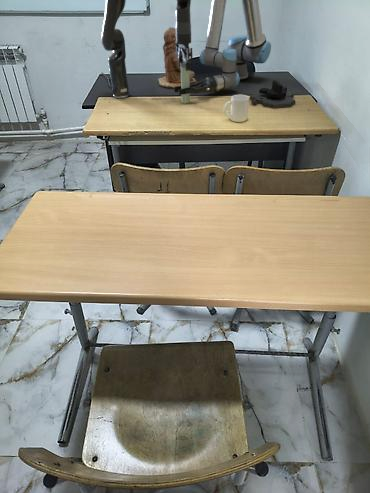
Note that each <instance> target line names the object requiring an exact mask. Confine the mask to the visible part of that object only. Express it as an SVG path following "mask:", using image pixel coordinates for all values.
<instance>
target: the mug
mask: <svg viewBox="0 0 370 493" xmlns="http://www.w3.org/2000/svg"><path fill="white" fill-rule="evenodd" d="M249 104H250V96H248V95H246V94H233V95H232V96H231V99H230V100H229V101H227V102H225V104H224V106H223V109H222V110H223V114H224V115H225V116H226V117H228V118H229V119H230V120H231V121H232V122H235V123H242V122H246V121H247V120H248V118H249V116H248V115H249ZM228 106H230V113H228V111H227V108H228Z"/></svg>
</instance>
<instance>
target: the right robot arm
mask: <svg viewBox="0 0 370 493" xmlns="http://www.w3.org/2000/svg"><path fill="white" fill-rule="evenodd" d="M227 1H228V0H211V6H210V13H209V20H208V27H207V33H206V42H205V48H204V49H202V50H201V51H200V54H199V62H200V64H202V65H204V66H207V67H213V68H215V67H216V68H221V74H217V75H213V76H207V77H206V78H205V79H204V80H200V81H199V80H197V79H196V81H194V82H190V88H184V89H181V86H177V87H173V92H174V93H178V96H181V95H183V94H188V93H190V94H193V95H196V94H201V93H212V92H219V91H222V90H227V89H233V88H235V87H237V86H239V84H240V82H241V81H245V80H247V79H248V78H249V72H248V67H247V63H253V64H257V65H258V64H265V63H266V62H267V61H268V59H269V57H270V55H271V51H272V43H271V42H270V41H269V40H267V36H266V34H265V33H263V27H262V20H261V18H262V17H261V10H260V3H259V0H240V3H241V9H242V14H243V20H244V26H245V32H246V35H237V36H231V37H229V39H228V43H227V48H225V49H223V50H222V51H219V50H220V44H221V37H222V33H223V32H222V31H223V25H224V19H225V12H226V5H227Z"/></svg>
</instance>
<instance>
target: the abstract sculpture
mask: <svg viewBox="0 0 370 493" xmlns="http://www.w3.org/2000/svg"><path fill="white" fill-rule="evenodd" d="M294 96H295V94H294V93H293V91H291V90H289V91H288V87H287V86H283V84H282V83H280V82H279V81H277V80H276V79H275V80H274V79H273V80H272V84H271V88H269V87H261V88H260V89H259V90H258V92H255V93H251V94H249V100H251V104H252V106H257V104H258V105H260V104H262V106H263V107H267V108H272V109H279V108H280V109H281V108H291V107H292V106H294V105H295V104H296V100H295V98H294Z"/></svg>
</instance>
